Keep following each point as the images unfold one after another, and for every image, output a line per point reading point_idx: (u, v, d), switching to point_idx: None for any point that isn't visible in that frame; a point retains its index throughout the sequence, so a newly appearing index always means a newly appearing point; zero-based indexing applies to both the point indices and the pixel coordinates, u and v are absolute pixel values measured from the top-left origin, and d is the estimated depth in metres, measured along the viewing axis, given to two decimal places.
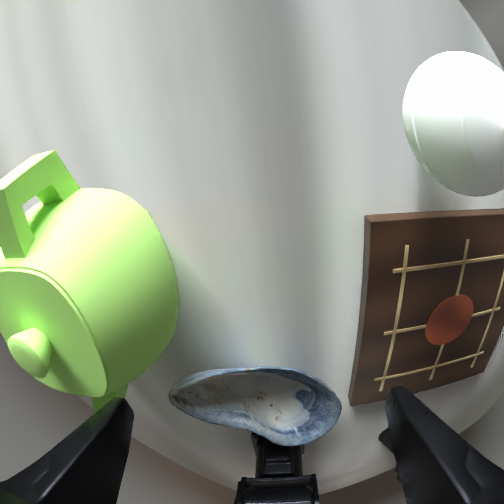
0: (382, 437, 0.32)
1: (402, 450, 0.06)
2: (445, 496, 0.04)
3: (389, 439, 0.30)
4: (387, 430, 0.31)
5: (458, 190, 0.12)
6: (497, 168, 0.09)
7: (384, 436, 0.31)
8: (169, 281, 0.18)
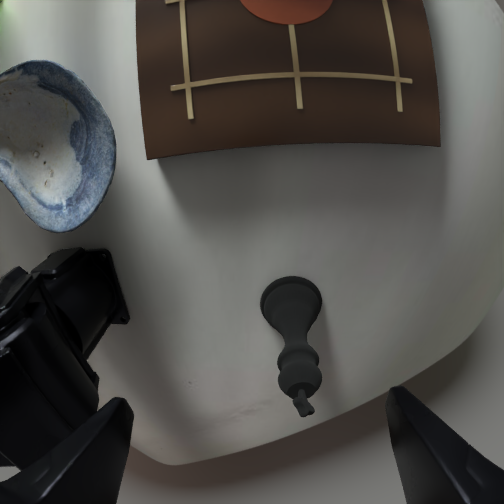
0: (263, 305, 0.21)
1: (402, 450, 0.06)
2: (445, 496, 0.04)
3: (273, 303, 0.20)
4: (270, 286, 0.20)
5: None
6: None
7: (265, 300, 0.20)
8: None
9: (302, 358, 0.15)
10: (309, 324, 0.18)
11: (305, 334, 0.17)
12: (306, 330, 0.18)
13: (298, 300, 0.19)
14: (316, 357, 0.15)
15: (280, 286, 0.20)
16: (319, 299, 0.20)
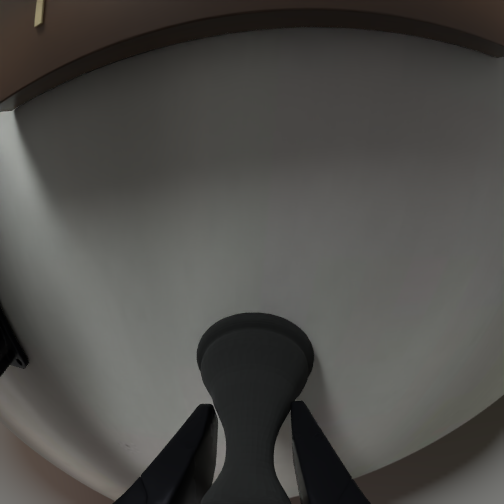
0: None
1: (295, 468, 0.07)
2: None
3: (211, 368, 0.09)
4: (209, 331, 0.10)
5: None
6: None
7: (202, 357, 0.10)
8: None
9: None
10: (283, 415, 0.08)
11: (270, 444, 0.07)
12: (274, 432, 0.07)
13: (259, 367, 0.09)
14: None
15: (227, 333, 0.10)
16: (308, 355, 0.10)
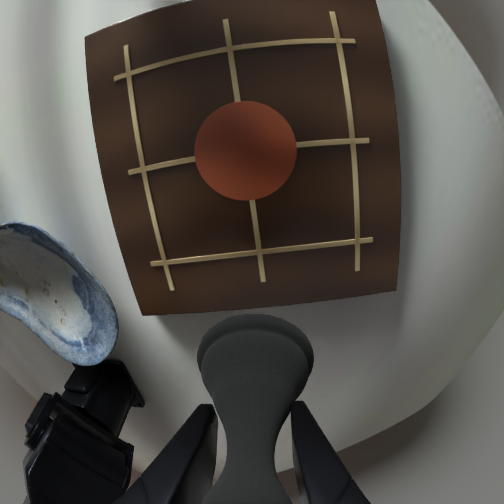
0: (202, 366, 0.11)
1: (296, 468, 0.07)
2: None
3: (212, 369, 0.09)
4: (209, 332, 0.10)
5: None
6: None
7: (203, 358, 0.10)
8: None
9: None
10: (283, 416, 0.08)
11: (270, 445, 0.07)
12: (275, 433, 0.07)
13: (259, 368, 0.09)
14: None
15: (228, 334, 0.10)
16: (308, 355, 0.10)
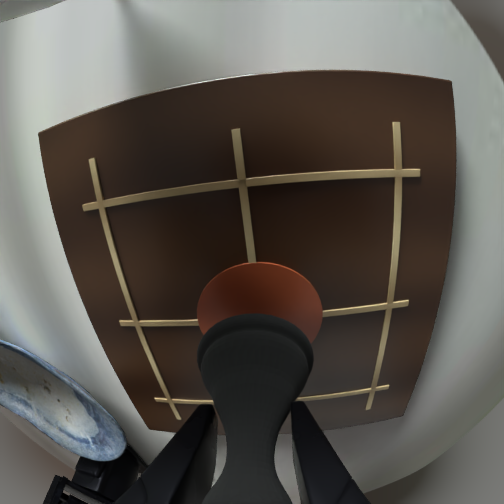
0: None
1: (296, 468, 0.07)
2: None
3: (212, 369, 0.09)
4: (209, 332, 0.10)
5: None
6: None
7: (202, 358, 0.10)
8: None
9: None
10: (283, 415, 0.08)
11: (270, 445, 0.07)
12: (275, 432, 0.07)
13: (259, 368, 0.09)
14: None
15: (227, 333, 0.10)
16: (308, 355, 0.10)
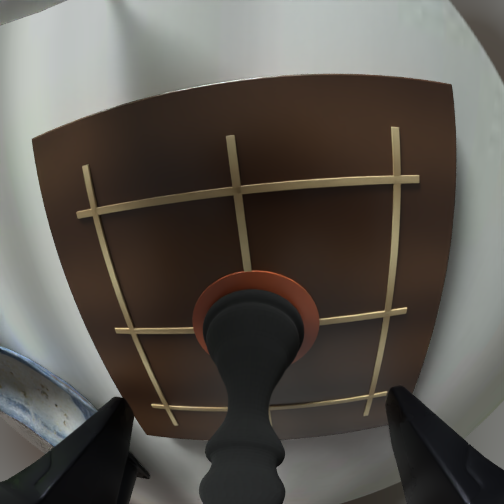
0: (207, 337, 0.12)
1: (402, 450, 0.06)
2: (445, 496, 0.04)
3: (216, 336, 0.11)
4: (214, 305, 0.12)
5: None
6: None
7: (207, 329, 0.12)
8: None
9: (245, 461, 0.06)
10: (276, 375, 0.10)
11: (265, 398, 0.09)
12: (269, 388, 0.09)
13: (256, 333, 0.11)
14: (278, 453, 0.07)
15: (229, 306, 0.12)
16: (299, 327, 0.12)
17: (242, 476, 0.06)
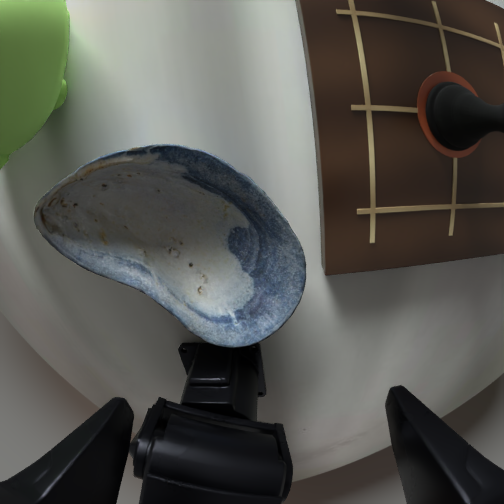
0: (432, 109, 0.13)
1: (402, 450, 0.06)
2: (445, 496, 0.04)
3: (449, 96, 0.12)
4: (435, 87, 0.13)
5: None
6: None
7: (436, 99, 0.13)
8: (55, 19, 0.10)
9: None
10: None
11: None
12: None
13: (472, 94, 0.11)
14: None
15: (447, 86, 0.12)
16: None
17: None
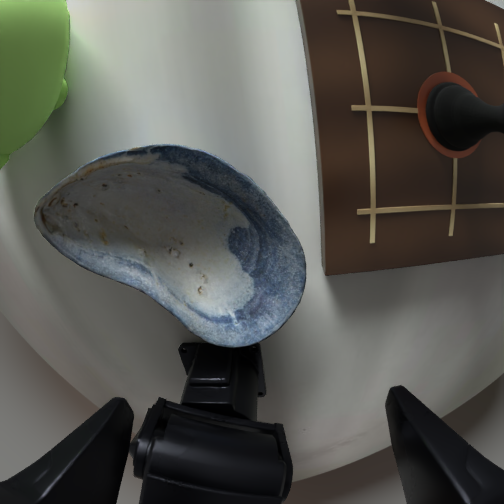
0: (433, 109, 0.13)
1: (402, 450, 0.06)
2: (445, 496, 0.04)
3: (449, 97, 0.12)
4: (435, 87, 0.13)
5: None
6: None
7: (436, 100, 0.13)
8: (55, 19, 0.10)
9: None
10: None
11: None
12: None
13: (472, 94, 0.11)
14: None
15: (447, 86, 0.12)
16: None
17: None
